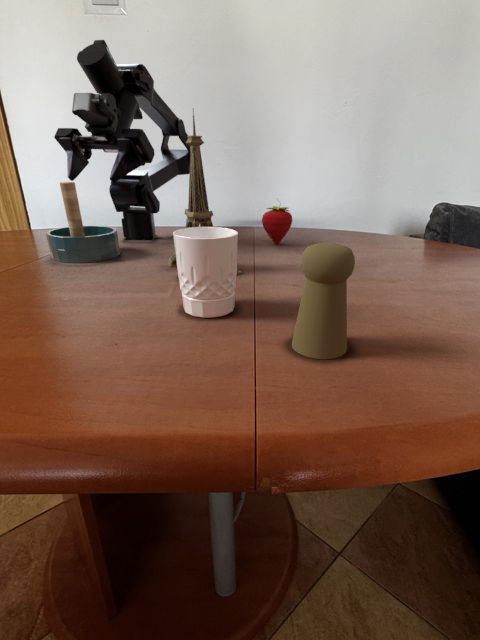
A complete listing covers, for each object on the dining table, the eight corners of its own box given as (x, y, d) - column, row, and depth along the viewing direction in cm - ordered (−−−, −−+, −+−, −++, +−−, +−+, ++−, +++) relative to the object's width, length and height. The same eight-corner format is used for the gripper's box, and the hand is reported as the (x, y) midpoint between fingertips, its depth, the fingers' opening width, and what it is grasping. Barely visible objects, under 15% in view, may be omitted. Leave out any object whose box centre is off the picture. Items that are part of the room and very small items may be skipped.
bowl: (128, 250, 79) (124, 226, 77) (109, 266, 68) (104, 237, 66) (68, 250, 79) (63, 225, 76) (40, 265, 68) (33, 236, 65)
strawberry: (256, 243, 89) (256, 197, 84) (281, 240, 92) (283, 196, 88) (270, 248, 84) (272, 200, 80) (296, 244, 88) (299, 199, 83)
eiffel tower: (241, 273, 66) (241, 103, 54) (184, 281, 61) (169, 97, 49) (216, 260, 74) (211, 109, 62) (163, 266, 69) (147, 104, 57)
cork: (287, 334, 44) (293, 238, 39) (338, 333, 44) (351, 238, 39) (296, 359, 38) (304, 251, 33) (354, 358, 39) (370, 251, 34)
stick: (97, 254, 74) (84, 181, 68) (89, 259, 70) (74, 183, 64) (74, 253, 74) (59, 181, 68) (65, 259, 70) (48, 182, 64)
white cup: (247, 303, 53) (247, 229, 48) (224, 324, 46) (221, 240, 42) (196, 296, 55) (192, 224, 50) (167, 314, 48) (159, 234, 44)
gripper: (49, 78, 70) (17, 143, 66) (138, 75, 66) (109, 145, 61) (86, 129, 80) (60, 189, 76) (165, 130, 76) (142, 194, 72)
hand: (90, 180), depth 71 cm, fingers open, 9 cm apart
